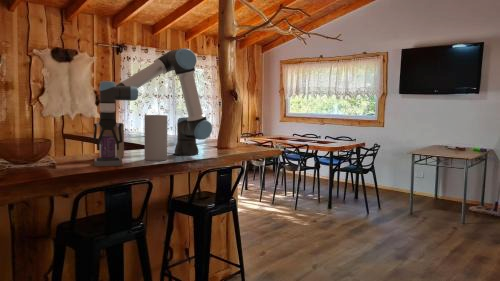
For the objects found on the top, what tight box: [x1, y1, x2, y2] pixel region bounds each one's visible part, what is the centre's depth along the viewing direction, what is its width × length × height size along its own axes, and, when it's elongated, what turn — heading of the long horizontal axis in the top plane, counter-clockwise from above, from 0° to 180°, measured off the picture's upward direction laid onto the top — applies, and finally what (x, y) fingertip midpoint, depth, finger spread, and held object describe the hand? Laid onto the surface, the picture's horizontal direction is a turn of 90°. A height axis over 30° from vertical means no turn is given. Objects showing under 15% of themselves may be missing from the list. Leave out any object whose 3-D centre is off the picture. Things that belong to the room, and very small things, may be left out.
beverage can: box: [101, 135, 115, 159], centre depth 207 cm, size 7×7×12 cm
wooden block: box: [99, 122, 125, 159], centre depth 227 cm, size 10×10×20 cm
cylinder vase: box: [144, 114, 168, 162], centre depth 226 cm, size 12×12×25 cm
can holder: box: [93, 157, 123, 168], centre depth 207 cm, size 13×13×2 cm
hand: (108, 156), depth 207 cm, fingers closed on beverage can, 7 cm apart
